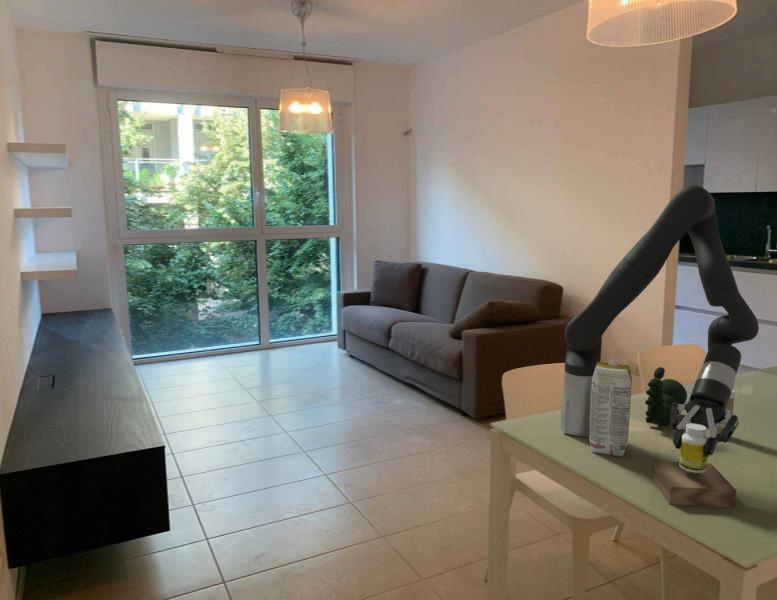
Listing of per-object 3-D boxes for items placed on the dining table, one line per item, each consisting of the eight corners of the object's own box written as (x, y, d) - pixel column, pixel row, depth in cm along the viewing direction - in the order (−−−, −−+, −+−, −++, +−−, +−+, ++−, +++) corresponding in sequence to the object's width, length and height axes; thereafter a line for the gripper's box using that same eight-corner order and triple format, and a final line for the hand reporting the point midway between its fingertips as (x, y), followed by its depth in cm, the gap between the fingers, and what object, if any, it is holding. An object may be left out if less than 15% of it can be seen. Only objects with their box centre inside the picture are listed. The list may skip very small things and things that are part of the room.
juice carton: (628, 447, 156) (633, 359, 152) (626, 459, 149) (632, 366, 145) (590, 442, 160) (595, 355, 156) (587, 453, 153) (592, 363, 149)
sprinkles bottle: (734, 437, 162) (738, 390, 160) (725, 441, 160) (729, 393, 157) (717, 432, 166) (721, 385, 164) (708, 435, 163) (712, 388, 161)
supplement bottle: (705, 475, 128) (709, 432, 126) (677, 470, 130) (680, 428, 129) (707, 466, 132) (710, 424, 131) (680, 461, 135) (683, 420, 133)
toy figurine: (669, 441, 164) (691, 408, 183) (673, 376, 160) (694, 350, 178) (634, 433, 170) (659, 402, 189) (636, 370, 166) (661, 346, 184)
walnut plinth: (669, 504, 126) (671, 486, 126) (651, 476, 139) (652, 460, 139) (734, 507, 125) (736, 490, 124) (709, 479, 137) (711, 463, 137)
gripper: (677, 371, 138) (653, 434, 132) (746, 384, 128) (724, 452, 122) (684, 388, 143) (661, 449, 136) (751, 401, 133) (730, 468, 126)
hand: (691, 450), depth 129 cm, fingers closed on supplement bottle, 5 cm apart
